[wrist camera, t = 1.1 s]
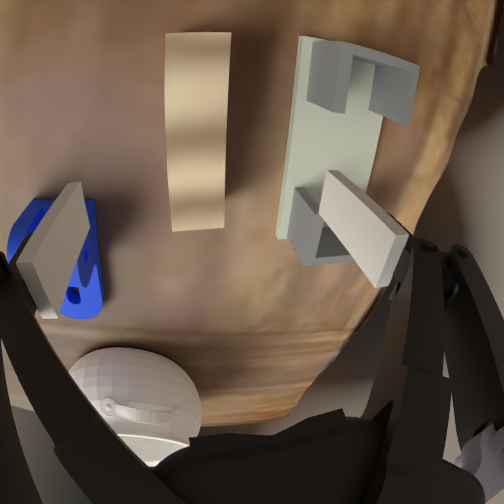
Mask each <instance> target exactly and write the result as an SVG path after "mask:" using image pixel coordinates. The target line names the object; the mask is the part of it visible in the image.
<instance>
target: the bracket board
mask: <svg viewBox="0 0 504 504" xmlns="http://www.w3.org/2000/svg"><path fill="white" fill-rule="evenodd" d="M419 71H420V66H419V65H416V64H414V63H411V62H409V61H406V60H403V59H400V58H398V57H395V56H392V55H389V54H386V53H383V52H380V51H376V50H373V49H370V48H366V47H363V46H359V45H356V44H352V43H348V42H344V41H328V40H324V39H319V38H314V37H308V36H299V39H298V49H297V59H296V69H295V78H294V88H293V97H292V106H291V114H290V123H289V132H288V140H287V149H286V157H285V165H284V173H283V181H282V189H281V197H280V204H279V212H278V219H277V227H276V236H277V238H278V239H289V240H290V242H291V244H292V246H293V248H294V250H295V251H296V253H297V255H298V257H299V259H300V261H301V263H302V264H303V266H311V265H322V264H331V263H341V262H351V261H355V260H354V258H353V257H352V256H351V254H350V253H349V252H348V250H347V249H346V248H345V246H344V245H343V244H342V242H341V241H340V240H339V239H338V237H337V236H336V235H335V233H334V232H333V231H332V230H331V228H330V227H329V226H328V224H327V223H326V222H325V221H324V219H323V218H322V217H321V216H320V214H319V213H318V212H319V207H320V202H321V197H322V192H323V187H324V181H325V176H326V170H339V171H340V172H341V173H342V174H343V175H345V176H346V177H347V178H348V179H349V180H351V181H352V182H353V183H354V184H355V185H356V186H358V187H359V188H360V189H361V190H362V191H363V192H364V193H366V190H367V186H368V182H369V178H370V174H371V170H372V166H373V161H374V157H375V153H376V148H377V144H378V139H379V134H380V129H381V124H382V119H383V116H384V117H386V118H388V119H391V120H393V121H395V122H397V123H399V124H403V125H407V126H410V121H411V116H412V111H413V106H414V101H415V95H416V90H417V84H418V77H419Z"/></svg>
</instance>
